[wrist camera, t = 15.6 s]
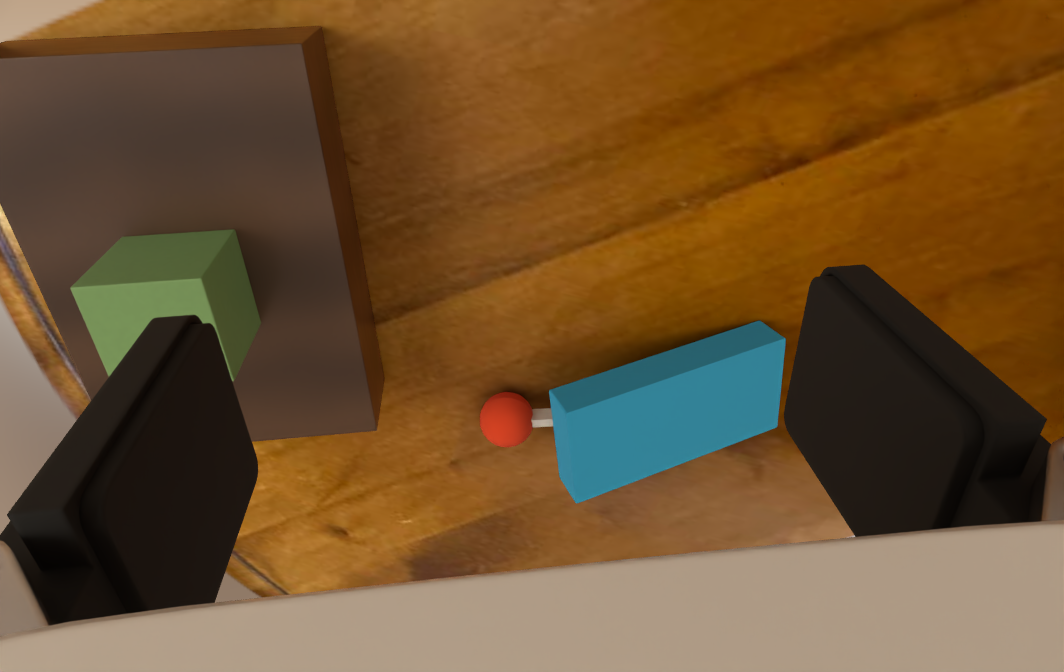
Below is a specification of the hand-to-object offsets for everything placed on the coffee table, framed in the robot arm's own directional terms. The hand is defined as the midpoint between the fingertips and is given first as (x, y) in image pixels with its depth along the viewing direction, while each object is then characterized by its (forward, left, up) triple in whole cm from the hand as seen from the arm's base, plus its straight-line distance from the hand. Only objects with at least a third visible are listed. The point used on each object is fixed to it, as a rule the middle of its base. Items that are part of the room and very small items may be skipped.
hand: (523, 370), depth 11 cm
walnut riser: (+8, -14, -26) cm, 31 cm away
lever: (+20, +8, -26) cm, 34 cm away
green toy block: (+8, -14, -21) cm, 27 cm away
